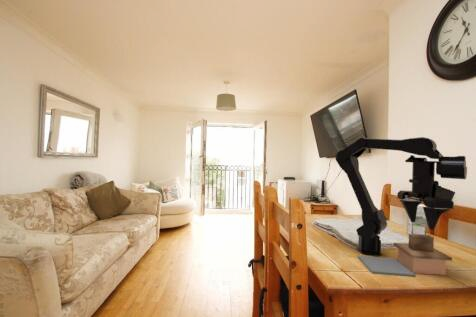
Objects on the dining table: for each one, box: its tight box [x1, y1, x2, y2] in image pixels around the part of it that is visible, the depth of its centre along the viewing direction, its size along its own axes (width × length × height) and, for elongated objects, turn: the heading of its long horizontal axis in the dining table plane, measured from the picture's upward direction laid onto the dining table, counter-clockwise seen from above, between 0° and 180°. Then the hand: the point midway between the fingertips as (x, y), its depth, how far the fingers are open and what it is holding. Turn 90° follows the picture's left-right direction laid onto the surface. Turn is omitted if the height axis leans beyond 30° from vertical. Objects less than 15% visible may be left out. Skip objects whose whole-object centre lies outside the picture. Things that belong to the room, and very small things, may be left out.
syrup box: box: [406, 203, 428, 236], centre depth 114 cm, size 6×6×14 cm
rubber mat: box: [357, 255, 416, 278], centre depth 80 cm, size 12×12×1 cm
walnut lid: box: [393, 234, 453, 262], centre depth 80 cm, size 11×11×5 cm
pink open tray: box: [397, 248, 447, 276], centre depth 80 cm, size 9×9×5 cm
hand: (421, 225), depth 81 cm, fingers open, 9 cm apart
